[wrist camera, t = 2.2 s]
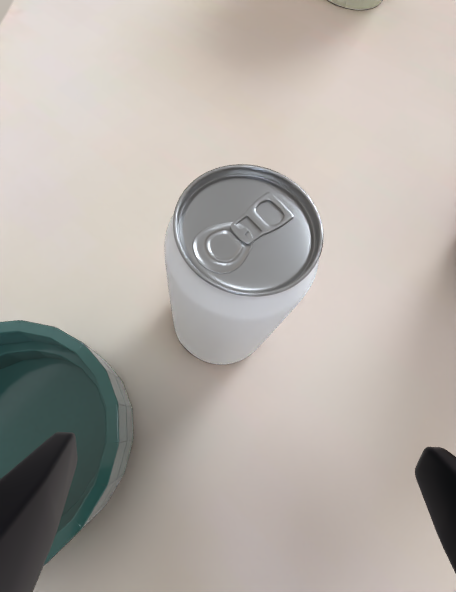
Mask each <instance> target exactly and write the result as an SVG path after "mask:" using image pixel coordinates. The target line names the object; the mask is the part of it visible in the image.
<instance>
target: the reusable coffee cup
mask: <svg viewBox="0 0 456 592" xmlns="http://www.w3.org/2000/svg"><path fill="white" fill-rule="evenodd" d="M328 1H330V2H332V3H334V4H336V5H338V6H341V7H344V8H349V9H355V10H366V9H371V8H374V7H376V6H378V5H379V4H380V3H381V2H382V0H328Z"/></svg>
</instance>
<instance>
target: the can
mask: <svg viewBox="0 0 456 592" xmlns="http://www.w3.org/2000/svg"><path fill="white" fill-rule="evenodd" d="M322 246H323V227H322V222H321V218H320V215H319V213H318V211H317V208H316V207H315V205H314V203H313V202H312V200H311V199H310V197H309V196H308V195H307V194H306V192H305V191H304V190H303V189H302V188H301V187H299V186H298V185H297V184H296V183H295V182H293V181H292V180H290V179H289V178H287V177H286V176H284V175H282V174H280V173H278V172H276V171H273V170H271V169H268V168H264V167H260V166H255V165H244V164H238V165H228V166H223V167H219V168H216V169H213V170H211V171H208V172H206V173H204V174H203V175H201V176H199V177H198V178H196V179H195V180H194V181H193V182H192V183H191V184H190V185H189V186H188V187H187V188H186V189H185V190H184V192H183V193H182V195H181V196H180V198H179V200H178V202H177V205H176V207H175V211H174V214H173V216H172V218H171V220H170V222H169V225H168V228H167V231H166V237H165V263H166V272H167V279H168V287H169V294H170V301H171V308H172V315H173V321H174V327H175V331H176V334H177V337H178V339H179V340H180V342H181V343H182V345H183V346H184V347H185V348H186V349H187V350H188V351H189V352H190V353H191V354H193V355H194V356H195V357H197V358H199V359H200V360H202V361H205V362H208V363H212V364H231V363H235V362H238V361H240V360H243V359H244V358H246V357H248V356H249V355H251V354H252V353H253V352H254V351H255V350H256V349H257V348H258V347H259V346H260V345H261V344H262V343H263V342H264V341H265V340H266V339H267V338H268V336H269V335H270V334H271V333H272V332H273V331H274V330H275V329H276V328H277V327H278V326H279V324H280V323H281V322H282V321H283V320H284V319H285V318H286V317H287V316H288V315H289V313H290V312H291V311H292V310H293V309H294V308H295V307H296V305H297V304H298V303H299V302H300V301H301V300H302V298H303V297H304V296H305V294H306V293H307V292H308V290H309V288H310V286H311V285H312V283H313V281H314V278H315V276H316V272H317V268H318V261H319V257H320V254H321V251H322Z"/></svg>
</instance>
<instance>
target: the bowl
mask: <svg viewBox="0 0 456 592" xmlns="http://www.w3.org/2000/svg"><path fill="white" fill-rule="evenodd" d="M57 432H72V433H74V434H75V437H76V447H77V465H76V469H75V472H74V476H73V479H72V482H71V486H70V489H69V492H68V496H67V499H66V502H65V506H64V509H63V512H62V516H61V519H60V522H59V526H58V529H57V532H56V535H55V538H54V540H53V543H52V546H51V548H50V551H49V553H48V555H47V558H46V560H45V563H44V565H45V564H47V563H48V562H49V561H50V560H51V559H52V558H53V557H54V556H55V555H56V554H57V553H58V552H59V551H60V550H61V549H62V548H63V547H64V546H65V545H66V544H67V543H68V542H69V541H70V540H71V539H72V538H73V537H74V536H75V535H76V534H77V533H78V532H79V531H80V530H81V529H82V528H83V527H84V526H85V525H86V524H87V523H89V522H90V521H91V520H92V519H93V518H94V517H95V516H96V515H97V514H98V513H99V512H100V511H101V510H102V509H103V508H104V507H105V505H106V504H107V503H108V501H109V499H110V497H111V496H112V494H113V492H114V491H115V489H116V487H117V485H118V484H119V482H120V480H121V479H122V477H123V475H124V473H125V470H126V466H127V462H128V458H129V455H130V451H131V447H132V443H133V413H132V406H131V403H130V400H129V398H128V395H127V392H126V390H125V387H124V384H123V382H122V381H121V379H120V377H119V376H118V375H117V374H116V373H115V371H114V370H113V369H112V368H111V367H110V365H109V364H108V363H107V362H106V361H105V360H104V359H103V358H102V357H101V356H99V355H98V354H97V353H95V352H94V351H93V350H92V349H90V348H89V347H88V346H86V345H85V344H84V343H82V342H81V341H79V340H77V339H75V338H74V337H72V336H70V335H68V334H67V333H65V332H63V331H62V330H60V329H58V328H55V327H53V326H48V325H43V324H38V323H33V322H28V321H23V320H21V321H20V320H17V321H6V322H0V479H1V478H2V477H3V476H5V475H6V474H7V473H8V472H9V471H11V470H12V469H13V468H14V467H15V466H17V465H18V464H19V463H20V462H21V461H22V460H24V459H25V458H26V457H27V456H28V455H30V454H31V453H32V452H33V451H34V450H36V449H37V448H38V447H39V446H40V445H41V444H43V443H44V442H45V441H46V440H47V439H49V438H50V437H51V436H52V435H53V434H55V433H57ZM44 565H43V566H44Z"/></svg>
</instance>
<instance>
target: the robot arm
mask: <svg viewBox="0 0 456 592" xmlns="http://www.w3.org/2000/svg"><path fill="white" fill-rule="evenodd" d="M76 465H77V447H76V437H75V434H74V433H72V432H57V433H55V434H53V435H52V436H51V437H50V438H49V439H47V440H46V441H45V442H44V443H43V444H41V445H40V446H39V447H38V448H37V449H36V450H34V451H33V452H32V453H31V454H30V455H28V456H27V457H26V458H25V459H24V460H22V461H21V462H20V463H19V464H18V465H17V466H15V467H14V468H13V469H12V470H11V471H9V472H8V473H7V474H6V475H5V476H3V477H2V478H1V479H0V592H33V590H34V587H35V585H36V582H37V580H38V577H39V575H40V573H41V570H42V568H43V565H44V563H45V560H46V558H47V555H48V553H49V551H50V548H51V546H52V543H53V540H54V538H55V535H56V532H57V529H58V526H59V522H60V519H61V516H62V512H63V509H64V506H65V502H66V499H67V496H68V492H69V489H70V486H71V482H72V479H73V476H74V472H75V469H76ZM415 475H416V479H417V482H418V485H419V487H420V490H421V492H422V495H423V498H424V500H425V503H426V505H427V508H428V511H429V513H430V516H431V519H432V521H433V524H434V526H435V529H436V532H437V534H438V536H439V539H440V541H441V543H442V546H443V548H444V550H445V552H446V554H447V556H448V558H449V561H450V563H451V565H452V567H453V569H454V571H455V573H456V457H455V456H454V455H452V454H451V453H450V452H448V451H447V450H445V449H443V448H440V447H427V448H425V449H424V451H423V453H422V455H421V457H420V459H419V461H418V463H417V466H416V468H415Z"/></svg>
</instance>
